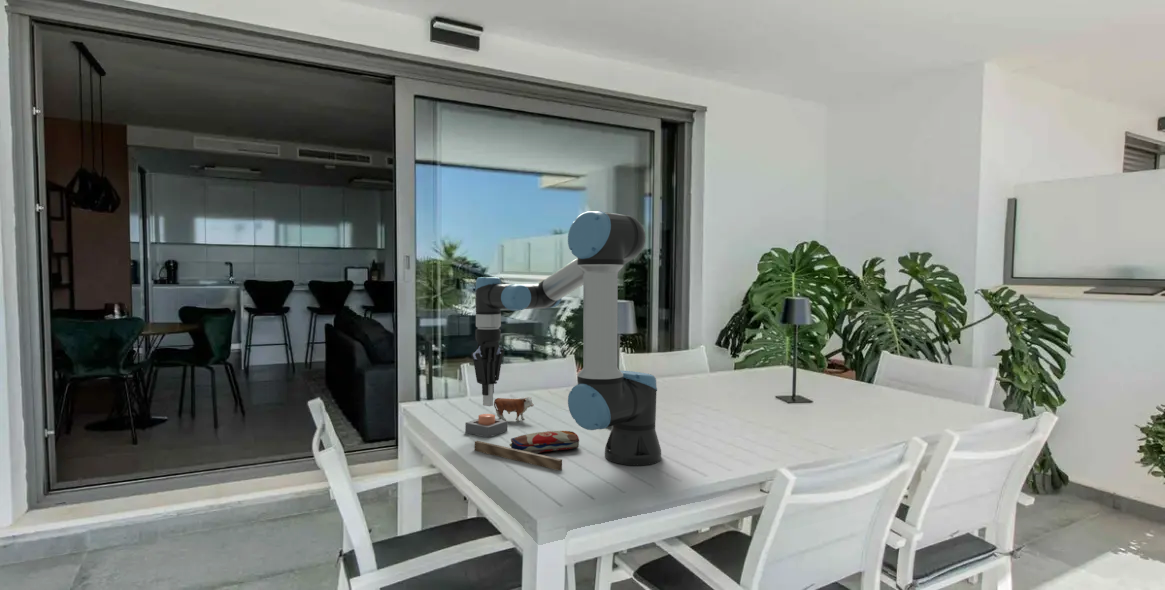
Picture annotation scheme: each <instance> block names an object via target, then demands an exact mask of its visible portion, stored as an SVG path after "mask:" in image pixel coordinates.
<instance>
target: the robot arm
mask: <svg viewBox="0 0 1165 590" xmlns="http://www.w3.org/2000/svg"><path fill="white" fill-rule="evenodd" d="M645 243H646V231H645V229H644V226H643V225H642V223H641V222H640V221H639V220H638V219H637V218H635V217H634V216H632V215H628V214H623V213H622V214H621V213H620V214H619V213H613V212H605V211H601V210H600V211H597V210H595V211H591V210H590V211H586V212H582V213H581V214H579V215H578V216H577V217H576V218H575V220H574V221H573V222H572V223H571V225H570V227H569V230H568V234H567V245H568V249H569V251H571V253H572V255H573V256H574V257H576V258H575V259H573V260H572V261H570V262H568V264H567V263H566V265H565V266H563V267H561V268H560V269H558V270H557V271H555V272H554V273H552V274H550V276H549V275H548V277H546V278H545V279H543V280H542V281H540V282H538V283H502V282H501V280H502V279H501V278H500V277H498V276H497V277H493V276H489V277H488V276H483V277H482V276H481V277H477V278H476V280H475V290H474V292H475V327H476V328H475V341H476V342H477V346H476V351H475V352H471V353H470V357H471V359H472V361H473V367H474V373H475V377H476V383H477V384H479V385H481V395H482V406H483V407H492V406H493V407H494V393H495V387H494V385H497V384H498V382H497V381H499V379H500V375H501V368H502V362H503V361H502V360H503V355H504V354H505V349H503V348H501V347H500V344H499V342H500V341H501V335H502V334H501V333H502V330H501V329H500V327H502V313H501V311H502V310H506V311H511V312H514V311H523V310H532V309H533V310H536V309H539V310H541V309H545V310H547V309H551V308H556V307H557V306H559V305H560V303H561V301H562V300H563V299H562V298H564V297H566V296H567V295H570V294H571V293H573V292H574V291H576V290H577V289H579V288H580V287H582V286H583V287H582V288H583V291H582V293H583V294H582V296H583V298H582V299H583V305H582V306H583V307H582V308H583V314H582V315H583V318H582V320H583V323H582V324H583V327H582V329H583V331H582V332H583V334H582V335H583V338H582V339H583V342H582V345H583V349H582V351H583V352H582V353H583V354H582V355H583V359H582V360H583V361H582V362H583V363H582V364H583V366H582V369H581V370H580V371H579V372H578V373H577V382H576V383H577V384H576V385H574V386H573V387H572V388H571V390H570V391H569V392H568V397H567V405H568V406H567V407H568V411H569V413H570V415H571V418H572V419H573V420H574V421H575V423H576V424H577V426H579V427H581V428H582V429H585V430H587V431H596V430H605V429H607V428H610V427H611V430H610V433H609V436H608V438H607V440H606V444H605V448H604V457H605V459H607V460H608V461H610V462H612V463H615V464H619V465H624V466H625V465H626V466H649V465H653V464H656V463H658V462H660V461H661V460H662V449H661V444H660V441H659V437H658V435H657V431H656V421H657V419H656V418H657V416H656V415H657V391H658V388H657V378H656V377H655V376H654V375H653V374H649V373H646V372H641V371H640V372H638V371H632V370H622V369H621V370H620V369H619V367H618V315H619V314H618V308H619V306H618V305H619V304H618V301H619V300H618V297H619V296H618V294H619V293H618V289H619V288H618V281H619V280H618V273H619V271H621V269H623V268H624V265H627V263H629V262H630V261H632V260H634V259H635V258H637V256H639V255H640V253H641V252H642V251H643V249H644V247H645Z"/></svg>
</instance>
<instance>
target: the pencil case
mask: <svg viewBox="0 0 1165 590" xmlns="http://www.w3.org/2000/svg"><path fill="white" fill-rule="evenodd" d="M579 446H580V438H579V435H578V434H577V433H576V432H574V431H571V430H550V431H548V430H547V431H537V432H532V433H528V434H527V433H526V434H523V435H520V436H519V435H518V436H516V437H512V438H510V443H509V447H510V448H513V449H517V450H522V451H526V452H531V453H535V454H541V453H547V452H552V451H553V452H554V451H566V450H572V449H577V448H579Z"/></svg>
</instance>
